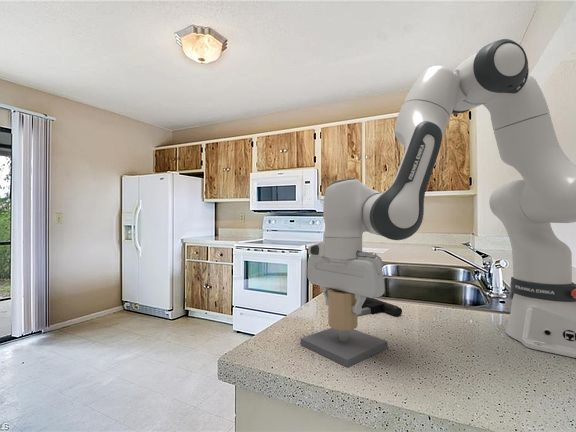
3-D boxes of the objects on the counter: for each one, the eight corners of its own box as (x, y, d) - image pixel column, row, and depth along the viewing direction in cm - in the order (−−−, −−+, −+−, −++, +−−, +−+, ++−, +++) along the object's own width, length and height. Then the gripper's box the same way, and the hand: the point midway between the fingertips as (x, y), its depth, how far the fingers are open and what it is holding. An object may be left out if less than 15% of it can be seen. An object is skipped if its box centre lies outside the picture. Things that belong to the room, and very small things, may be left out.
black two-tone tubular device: (363, 317, 85) (405, 305, 93) (323, 300, 103) (361, 291, 110) (364, 328, 86) (405, 316, 93) (324, 309, 103) (361, 300, 111)
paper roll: (362, 325, 70) (362, 290, 70) (344, 332, 66) (344, 295, 66) (341, 318, 75) (341, 285, 75) (323, 324, 71) (322, 289, 71)
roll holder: (387, 347, 70) (387, 310, 70) (347, 367, 61) (347, 324, 61) (340, 330, 81) (340, 298, 81) (300, 344, 72) (300, 308, 72)
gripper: (390, 252, 65) (390, 317, 65) (321, 245, 81) (321, 298, 81) (372, 254, 61) (372, 324, 61) (303, 246, 77) (303, 302, 77)
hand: (342, 309), depth 71 cm, fingers closed on paper roll, 6 cm apart
